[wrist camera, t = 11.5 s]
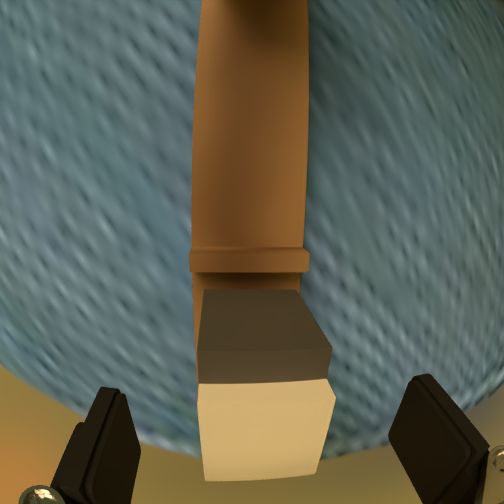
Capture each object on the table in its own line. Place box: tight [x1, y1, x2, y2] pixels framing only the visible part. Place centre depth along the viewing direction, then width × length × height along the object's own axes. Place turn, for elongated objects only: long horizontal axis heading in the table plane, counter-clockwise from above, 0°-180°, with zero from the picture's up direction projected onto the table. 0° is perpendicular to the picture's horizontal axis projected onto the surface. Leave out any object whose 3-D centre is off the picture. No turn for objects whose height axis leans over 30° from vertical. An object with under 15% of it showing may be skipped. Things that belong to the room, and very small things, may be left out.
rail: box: [189, 0, 310, 402], centre depth 11 cm, size 5×29×9 cm, turn 178°
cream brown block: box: [197, 289, 336, 481], centre depth 12 cm, size 4×5×7 cm
